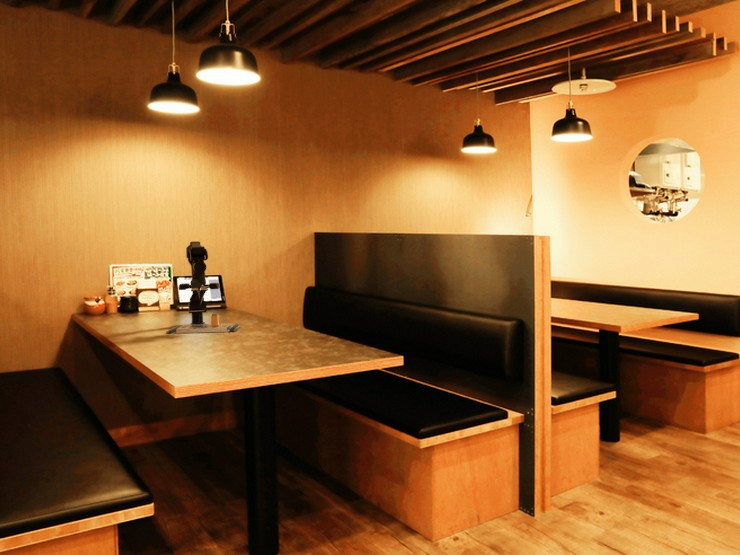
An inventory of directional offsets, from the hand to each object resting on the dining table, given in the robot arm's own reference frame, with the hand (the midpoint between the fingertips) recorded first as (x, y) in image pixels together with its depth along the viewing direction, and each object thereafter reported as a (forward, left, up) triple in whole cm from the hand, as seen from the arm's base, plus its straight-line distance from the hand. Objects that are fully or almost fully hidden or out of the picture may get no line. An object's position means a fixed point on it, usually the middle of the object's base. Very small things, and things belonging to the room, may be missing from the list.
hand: (200, 303), depth 307 cm
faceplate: (0, +2, -13) cm, 13 cm away
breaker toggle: (0, +7, -11) cm, 13 cm away
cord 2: (0, +16, -13) cm, 21 cm away
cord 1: (0, -12, -13) cm, 18 cm away
